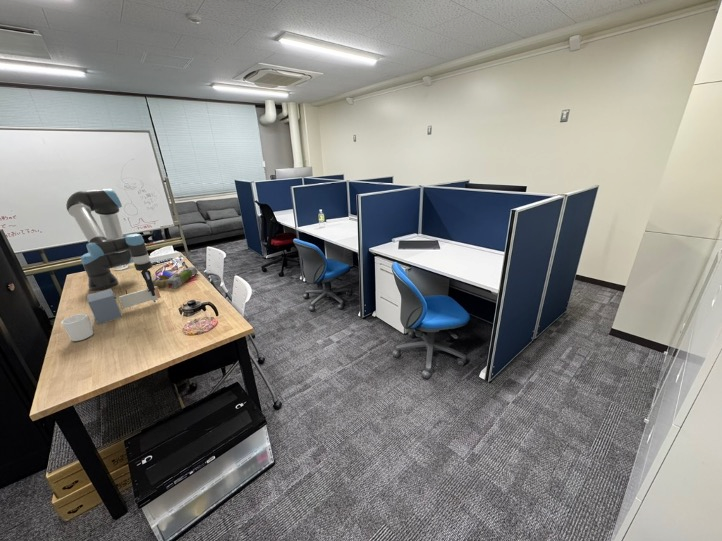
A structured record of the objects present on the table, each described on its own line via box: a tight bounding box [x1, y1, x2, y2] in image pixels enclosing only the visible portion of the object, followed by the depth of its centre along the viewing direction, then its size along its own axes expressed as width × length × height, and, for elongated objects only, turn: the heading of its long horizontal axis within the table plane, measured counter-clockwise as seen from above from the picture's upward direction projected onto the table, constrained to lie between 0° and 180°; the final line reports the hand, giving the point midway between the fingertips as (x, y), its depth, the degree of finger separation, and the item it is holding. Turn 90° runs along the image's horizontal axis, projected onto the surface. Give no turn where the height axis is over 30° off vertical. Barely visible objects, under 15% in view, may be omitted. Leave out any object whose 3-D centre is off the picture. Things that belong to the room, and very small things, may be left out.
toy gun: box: [152, 266, 200, 289], centre depth 196 cm, size 7×27×20 cm
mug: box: [60, 313, 94, 343], centre depth 138 cm, size 11×9×10 cm
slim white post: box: [118, 286, 162, 309], centre depth 164 cm, size 1×18×7 cm, turn 133°
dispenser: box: [87, 288, 122, 325], centre depth 154 cm, size 12×11×13 cm
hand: (154, 299), depth 169 cm, fingers closed on slim white post
